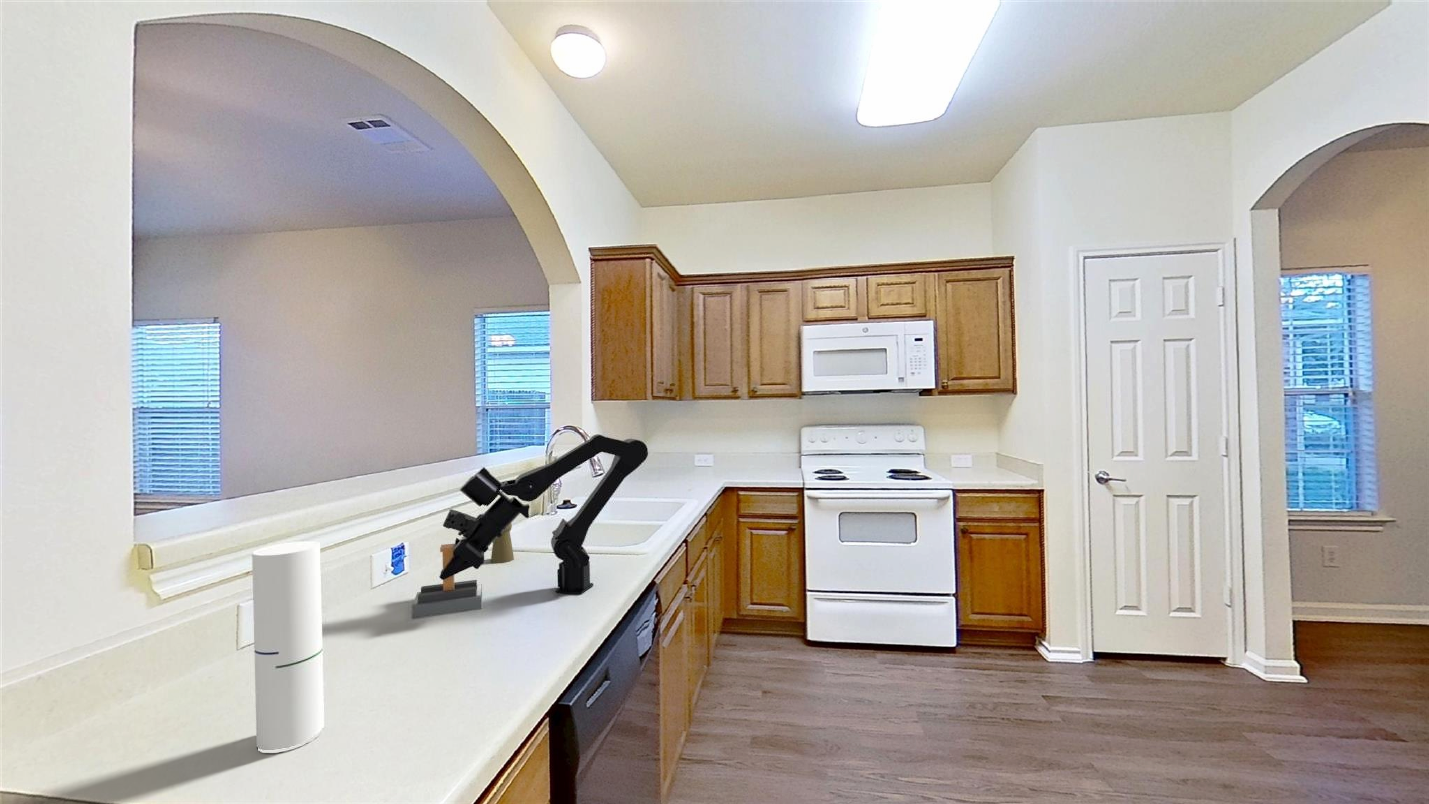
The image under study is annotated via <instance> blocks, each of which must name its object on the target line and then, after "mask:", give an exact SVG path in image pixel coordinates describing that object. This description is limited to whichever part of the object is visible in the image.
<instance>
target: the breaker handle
mask: <svg viewBox="0 0 1429 804" xmlns="http://www.w3.org/2000/svg"><path fill="white" fill-rule="evenodd" d="M454 545H456V543H455V542H454V543H447V544H445V543H444V544H441V545H440V547H439V553H442V569H443V570H444V569H445V567H446V566H447V564H448V563H449V561H450V560H451V559H452V557H453V556H454V551H453V547H454ZM454 582H455V575H453V576H450V577H448V578H446V579H444V580H442V584H443V591H445V590H453V589H455V588H454Z"/></svg>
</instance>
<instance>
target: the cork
mask: <svg viewBox="0 0 1429 804" xmlns="http://www.w3.org/2000/svg"><path fill="white" fill-rule="evenodd" d="M512 528H513V525H512V522H511V523H510V524H509V526H508V527H507V528H506V529H505V530H504V531H503V532H502V535H501V536H500V537H497V538H496V539H495V540H494V541H493V542H492V548H491V557H490V563H492V564H504V563H509V562H512V561H514V560H515V557H514V550H513V544H512V538H511V530H512Z"/></svg>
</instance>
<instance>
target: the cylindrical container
mask: <svg viewBox="0 0 1429 804" xmlns="http://www.w3.org/2000/svg"><path fill="white" fill-rule="evenodd" d="M251 561H252V563H251V565H252V567H251V569H252V601H253V604H252V605H253V642H254V643H253V645H254V648H253V649H254V650H253V652H254V686H255V691H254V692H255V724H256V725H255V726H256V727H255V729H256V730H255V731H256V732H255V733H256V738H255V739H256V748H257V747H258V748H259V749H262V750H275V749H282V748H289V747H291V746H295V745H297V744H301V743H302V742H305V741H306V740H307V739H310V738H311V737H314V735H317V734H318V733H319V732H320V731H321V730H322V728H323V727H324V728H325V710H324V709H325V705H324V701H325V700H324V668H323V667H324V662H323V661H324V658H323V656H324V655H323V621H322V620H323V618H322V616H323V615H322V613H323V612H322V583H321V582H322V576H321V575H322V572H321V568H322V567H321V543H320V542H319V541H313V540H307V541H306V540H305V541H304V540H303V541H302V540H301V541H291V542H284V543H277V544H271V545H266V546H263V547H260V548H257V549H255V550H254V551H252V552H251Z"/></svg>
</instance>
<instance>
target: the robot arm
mask: <svg viewBox="0 0 1429 804" xmlns="http://www.w3.org/2000/svg"><path fill="white" fill-rule="evenodd" d="M648 450H649V449H648V447H647V445H646V443H645V442H644V441H641V440H639V439H637V438H626V439H623V440H621V439H618V438H617V439H616V438H612V437H608V436H605V435H602V434H594V435H592V436H591V437H590V438H589V439H587V440H585V441H584V442H583V443H581V444H579V445H577V446H576V447H574V448H573V449H571V450H569V451H567V452H566V453H564V454H562V455H561V456H559V457H557V458H556V459H554V460H552V461H551V462H549V463H548V464H545V465H542V466H539V467H536V468H533V469H531V470H528V471H526V472H524V473H521V474H520V475H518V476H517V477H516V478H515V479H509V480H505V481H499V480H498V479H497V478H496V477H495V476H493V475H492V473H491V472H490V471H489V470H488V469H487V467H482V468H480V470H479V471H477V472H476V473H475V474H474V475H473V476H471V477H469V478H468V480H467V481H466V482H465V483H464V484H463V485H462V486H461V487H460V489H459V491H460V492H461V493H463V495H465V496H466V497H467V498H469V499H470V500H471V501H472V502H473V503H474V504H476V505H477V506H478V507H481V506H486V507H488V506H489V505H491V506H489V508H488V509H487V510H485V512H483V513H479V514H478V515H477V517H474V516H473V515H470V514H467V513H464V512H462V511H458V510H456V509H453V508H452V509H451V508H450V509H449V511H448V513H447V515H446V518H445V520H444V522H443V524H442V526H443V527H444V528H445V529H452V530H455V531H458V533H457V535H458V536H460V537H461V536H462V537H461V538H457V537H456V538H455V541H454V544H455V543H456V545H454V547H453V551H454V556H453V557H452V559H451V560H450V561H449V563H448V564H447V566H446V567H445V569H444V570H443V568H442V569H441V571H440V575H439V579H440V580H442V581H443V580H444V579H446V578H448V577H450V576H453V575H454V576H455V575H456V574H459V573H461V572H463V571H465V570H468V569H470V568H474V569H475V570H478V569H479V568H480V567H482V565H483V564H484V563H485V553H486V552H487V551H488V550H489V547H490V546H491V545H492V544H493V541H494V540H495V539H496V538H497V537H500V536H501V535H502V532H503V531H504V530H505V529H506V528H507V527H508V526H509V524H510V523H511V524H512V523H513V522H514V520H515V519H517V517H518V516H519V515H520V514H521V515H522V516H523V517H524V518H525V519H529V518H530V513H529V512H530V504H529V503H527V504H523V502H533V501H535V500H537V499H538V498H539V497H540V496H541V495H542V494H544V493H545V492H546V491H547V490H548V489H549V488H550V487H551V486H552V485H553V484H554V482H556V481H557V480H558V479H560V478H562V477H563V476H565V475H566V474H568V473H569V472H571V471H574V469H576V468H577V467H580V466H581V465H583V464H584V463H587V461H589V460H590V459H592V458H594V457H596V456H598V454H600V453H605V454H609V455H612V456H613V460H612V462H611V464H610V467H609V469H608V470H607V471H606V473H605V474H604V475H603V477H602V478H601V479H600V481H599V482H598V484H597V485H596V487H595V488H594V489H593V491H592V492H591V493H590V495H589V496H588V497H587V499H586V500H585V502H583V504H582V506H581V507H580V508H579V510H578V511H577V512H576V513H575V515H574V516H572V518H570V519H569V520H568V521H567V520H565V519H564V518H562V519H561V521H560V522H559V524H558V526H557V528H555V529H554V530H553V531H552V532H551V534H552V537H551V540H550V544H551V549H552V551H553V553H554V555H555V557H556V558H558V559H559V560H560V562H559V563H558V569H557V570H556V571H557V572H556V573H557V589H555V593H558V594H559V593H560V594H573V595H574V594H575V595H581V594H584V593H585V592H586V591H588V590H590V589H591V588H592V587H594V583H593V582H591V572H590V571H591V570H590V569H591V568H590V567H591V565H590V559H591V558H590V555H589V554H588V552H587V551H586V549H585V548H584V546H583V544H584V542H585V540H586V537H587V534H588V531H589V528H590V527H591V526H592V524H593V523H594V522H595V520H596V519H597V517H598V516H599V514H600V513H601V511H603V509H604V507H605V506H606V505H607V503H608V502H609V500H610V499H611V497H613V495H614V493H615V492H617V490H618V488H619V487H620V485H621V483H623V481H624V480H625V479H626V478H627V477H629V475H631V474H632V473H634V472H635V471H636V470H637V469H638V468H639V467H640V465H642V464H643V463H644V462H645V461H646V460H647V458H648V455H649V451H648ZM498 496H499V497H498ZM509 496H512V498H509ZM497 497H498V498H497ZM496 498H497V500H496ZM495 500H496V501H495ZM520 500H521V501H523V502H521V501H520ZM492 502H493V504H492Z"/></svg>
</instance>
